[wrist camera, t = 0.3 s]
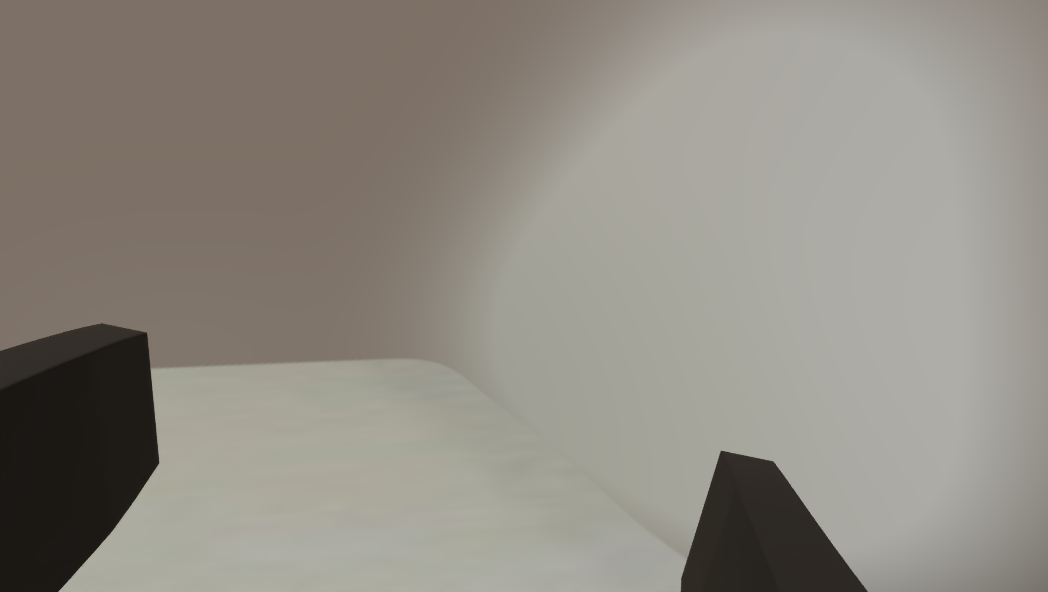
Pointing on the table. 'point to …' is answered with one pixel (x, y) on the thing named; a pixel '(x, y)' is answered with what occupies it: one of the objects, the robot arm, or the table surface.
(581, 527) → the table surface
